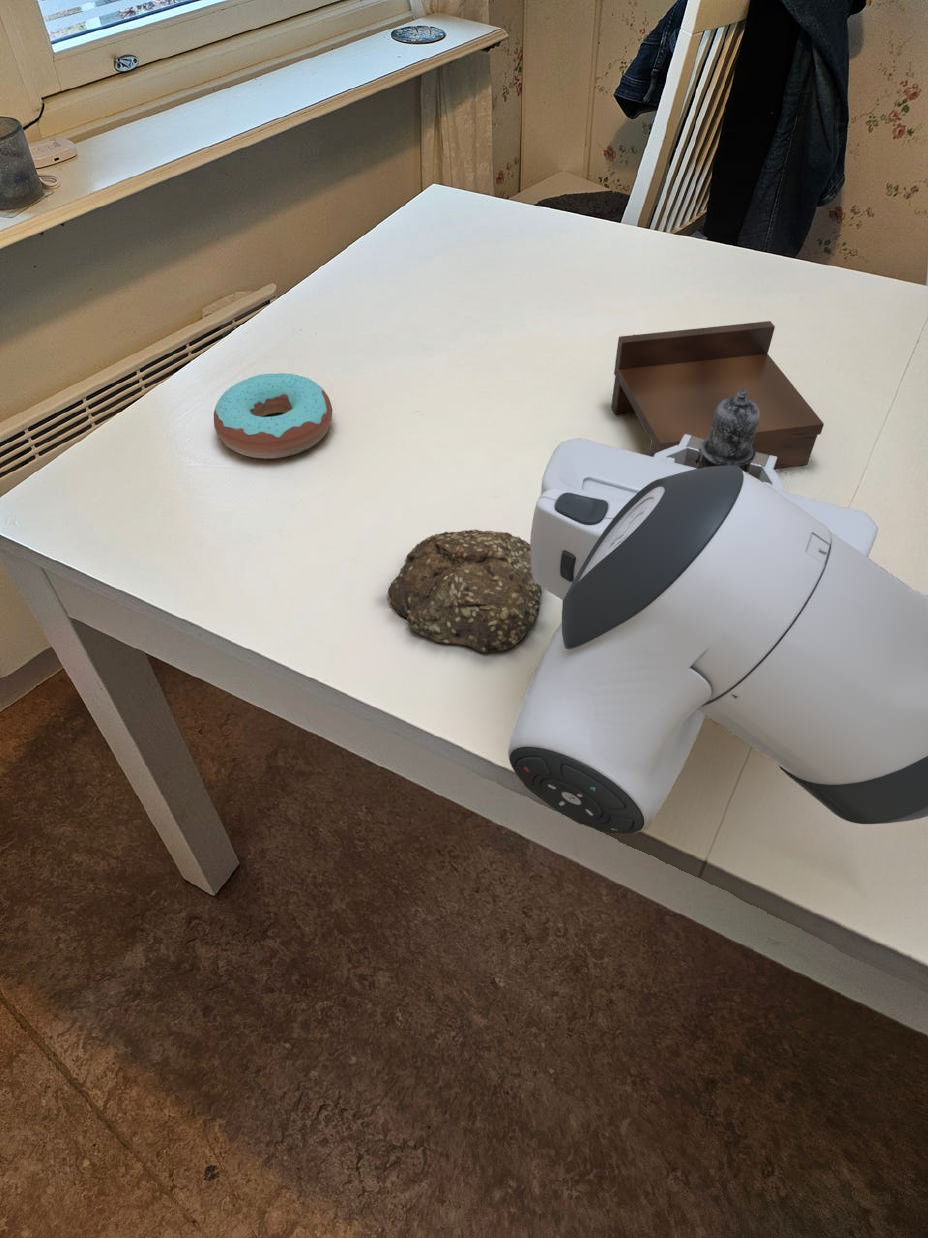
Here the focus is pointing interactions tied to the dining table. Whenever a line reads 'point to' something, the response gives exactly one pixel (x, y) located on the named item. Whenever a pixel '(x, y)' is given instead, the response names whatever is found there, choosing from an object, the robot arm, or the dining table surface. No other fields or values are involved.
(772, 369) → the shelf
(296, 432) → the donut
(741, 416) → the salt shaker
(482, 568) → the bread roll
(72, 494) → the dining table surface
